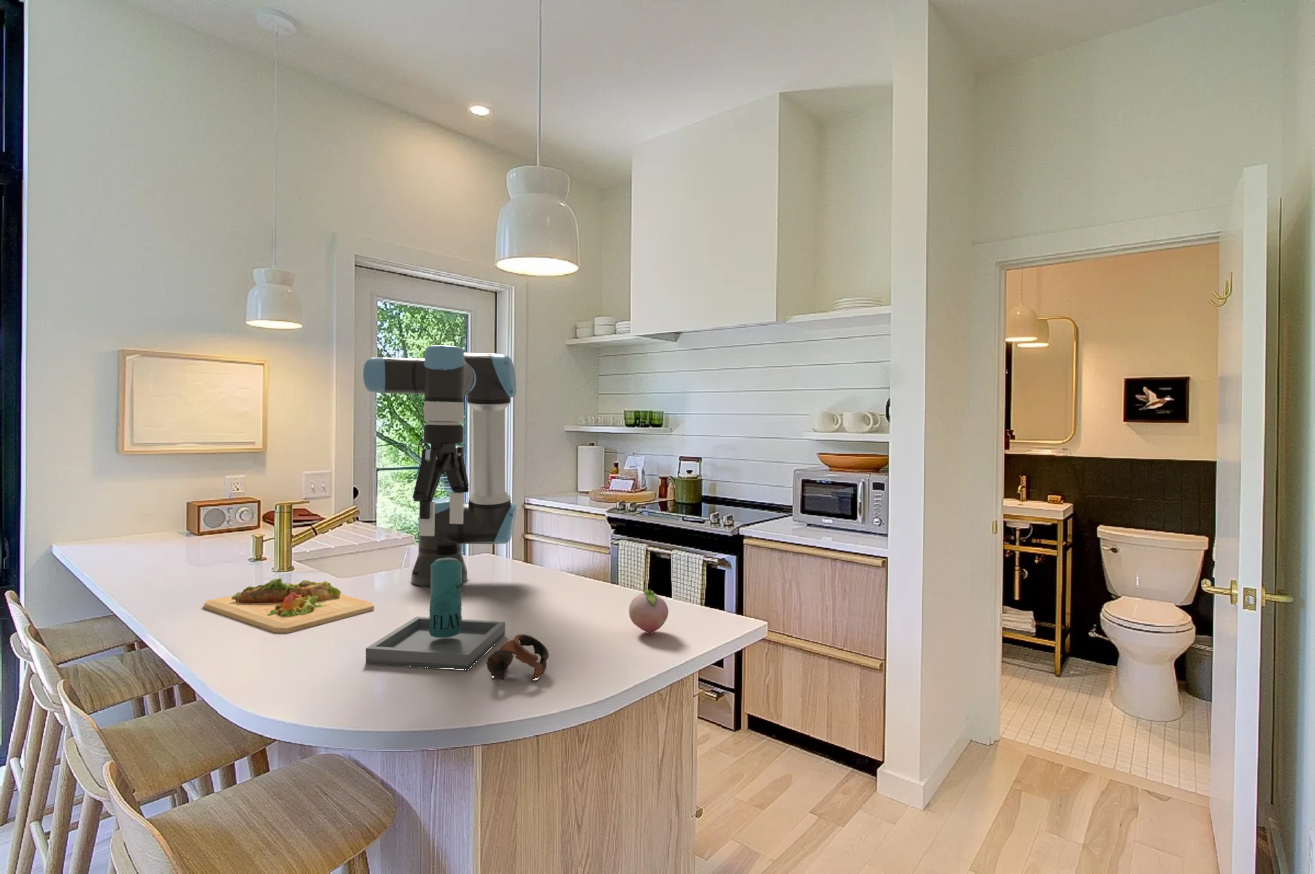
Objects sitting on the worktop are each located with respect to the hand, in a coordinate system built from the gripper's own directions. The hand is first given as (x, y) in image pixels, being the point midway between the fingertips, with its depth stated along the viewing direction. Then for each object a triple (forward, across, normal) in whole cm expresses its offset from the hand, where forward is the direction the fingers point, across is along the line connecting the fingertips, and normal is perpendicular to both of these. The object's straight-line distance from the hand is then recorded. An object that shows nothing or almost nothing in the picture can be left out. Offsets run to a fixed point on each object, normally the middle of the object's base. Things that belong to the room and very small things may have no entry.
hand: (442, 529), depth 131 cm
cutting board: (+25, -20, -47) cm, 57 cm away
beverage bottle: (+23, -2, 0) cm, 23 cm away
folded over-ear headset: (+24, +12, +19) cm, 33 cm away
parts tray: (+24, +1, 0) cm, 24 cm away
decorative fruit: (+24, -16, +40) cm, 50 cm away
